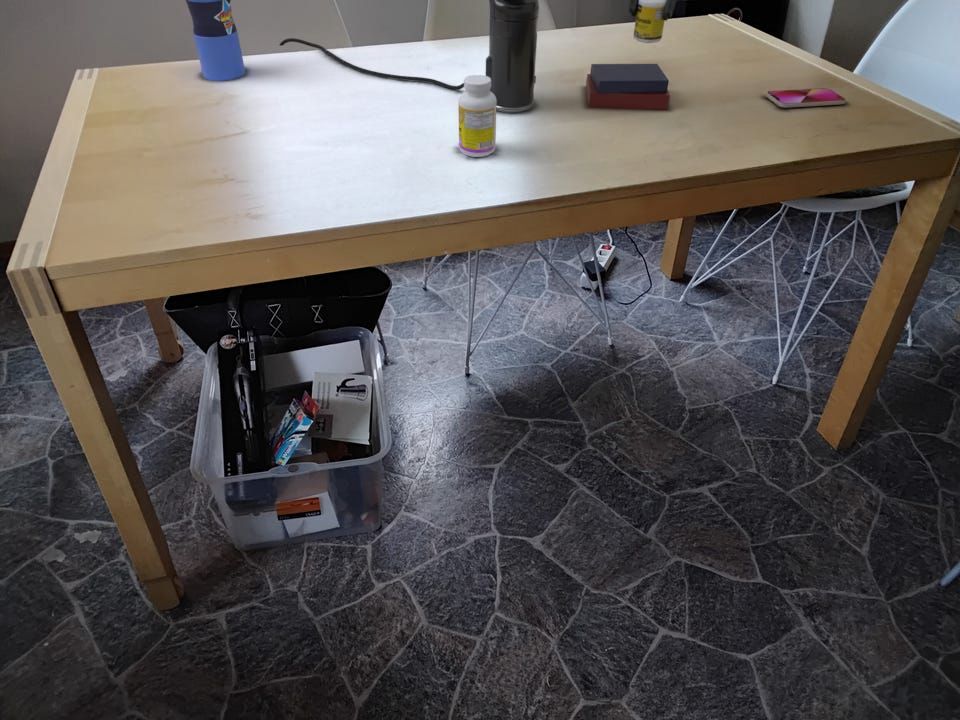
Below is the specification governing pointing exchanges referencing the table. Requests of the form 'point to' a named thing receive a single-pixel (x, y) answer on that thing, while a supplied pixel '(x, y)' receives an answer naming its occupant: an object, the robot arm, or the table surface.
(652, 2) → the supplement bottle
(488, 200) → the table surface
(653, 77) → the book stack
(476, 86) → the supplement bottle
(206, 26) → the water bottle
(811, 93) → the smartphone
